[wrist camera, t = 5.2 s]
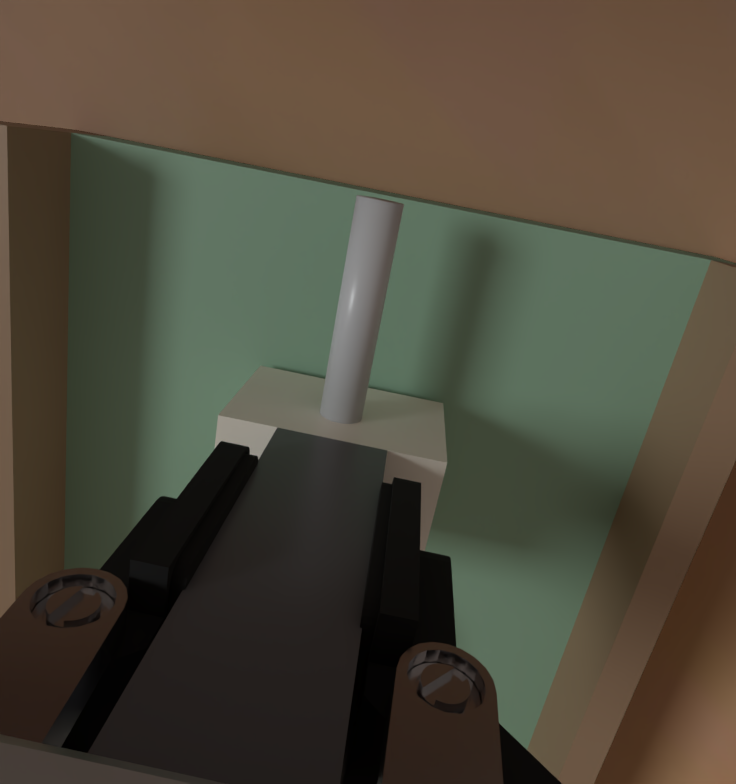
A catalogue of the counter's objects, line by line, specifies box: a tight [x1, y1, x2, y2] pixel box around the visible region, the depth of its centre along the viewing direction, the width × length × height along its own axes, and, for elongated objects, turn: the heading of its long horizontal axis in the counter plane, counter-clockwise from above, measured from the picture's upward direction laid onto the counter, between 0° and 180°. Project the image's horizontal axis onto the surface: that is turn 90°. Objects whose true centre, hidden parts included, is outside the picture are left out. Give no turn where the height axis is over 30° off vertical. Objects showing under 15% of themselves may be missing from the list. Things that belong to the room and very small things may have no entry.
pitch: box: [0, 121, 736, 784], centre depth 19 cm, size 26×18×5 cm
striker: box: [88, 195, 447, 784], centre depth 11 cm, size 9×5×13 cm, turn 170°
